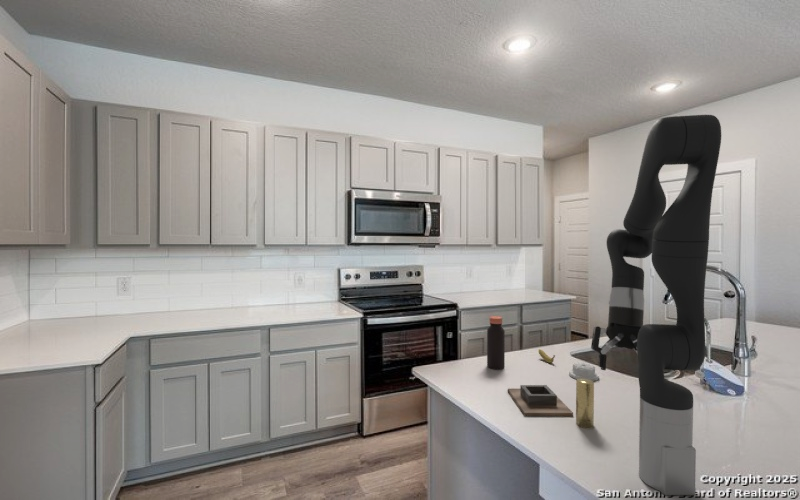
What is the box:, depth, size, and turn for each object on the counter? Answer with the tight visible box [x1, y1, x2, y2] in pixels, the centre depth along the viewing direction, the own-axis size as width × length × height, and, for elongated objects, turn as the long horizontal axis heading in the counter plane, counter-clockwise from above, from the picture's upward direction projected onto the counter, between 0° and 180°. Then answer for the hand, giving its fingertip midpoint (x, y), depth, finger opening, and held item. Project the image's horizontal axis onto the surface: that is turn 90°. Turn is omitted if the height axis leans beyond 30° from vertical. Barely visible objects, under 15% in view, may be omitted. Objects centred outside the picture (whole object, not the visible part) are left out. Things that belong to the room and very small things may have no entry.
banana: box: [538, 349, 556, 364], centre depth 161 cm, size 10×2×4 cm, turn 15°
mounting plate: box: [507, 384, 574, 417], centre depth 120 cm, size 18×14×4 cm
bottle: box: [486, 315, 506, 370], centre depth 154 cm, size 7×7×20 cm
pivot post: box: [575, 379, 595, 429], centre depth 106 cm, size 4×4×12 cm
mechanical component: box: [568, 362, 600, 382], centre depth 143 cm, size 10×4×10 cm
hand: (622, 373), depth 94 cm, fingers open, 8 cm apart
